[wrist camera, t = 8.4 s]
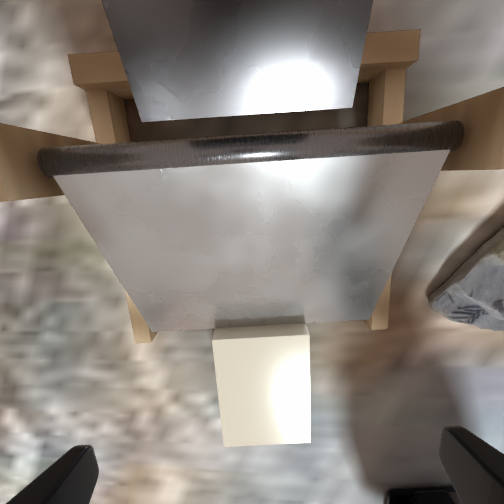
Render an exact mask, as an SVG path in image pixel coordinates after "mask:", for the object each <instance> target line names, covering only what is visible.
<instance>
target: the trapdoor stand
mask: <svg viewBox="0 0 504 504" xmlns="http://www.w3.org/2000/svg"><path fill="white" fill-rule="evenodd" d="M420 30H421V29H416V30H402V31H388V32H374V33H367V34H366V39H365V44H364V49H363V55H362V60H361V65H360V70H359V75H358V81H357V83H368V82H369V102H368V126H377V125H392V124H407V123H421V122H436V121H451V120H459V121H461V122H462V124H463V126H464V138H463V141H462V143H461V145H460V146H459V148H458V149H457V150H456V151H454V152H449V154H448V156H447V158H446V160H445V162H444V164H443V166H442V168H441V170H440V171H444V170H492V169H504V87H502V88H499V89H496V90H493V91H490V92H487V93H485V94H482V95H479V96H476V97H473V98H470V99H467V100H464V101H462V102H459V103H456V104H453V105H450V106H447V107H444V108H441V109H439V110H436V111H433V112H430V113H427V114H424V115H421V116H418V117H416V118H413V119H410V120H407V121H404V122H403V108H404V95H405V81H406V68H407V67H409V66H410V65H412V64H413V63H415V62H416V61H417V60H418V54H419V42H420ZM68 58H69V63H70V68H71V73H72V78H73V83H74V85H76V86H78V87H80V88H82V89H84V90H86V93H87V98H88V103H89V108H90V114H91V119H92V124H93V129H94V134H95V139H96V143H95V142H90V141H85V140H80V139H75V138H71V137H66V136H61V135H56V134H51V133H46V132H41V131H36V130H32V129H27V128H22V127H17V126H12V125H7V124H2V123H0V202H3V201H14V200H23V199H32V198H42V197H51V196H60V195H65V194H64V193H63V191H62V189H61V188H60V186H59V185H58V183H57V182H56V180H55V178H48V177H47V176H45V175H44V174H43V172H42V171H41V169H40V167H39V165H38V160H37V155H38V152H39V150H40V149H42V148H50V147H65V146H80V145H95V144H110V143H125V142H131V141H130V135H129V129H128V123H127V117H126V111H125V105H124V99H134V97H133V94H132V91H131V88H130V85H129V82H128V79H127V76H126V73H125V70H124V67H123V64H122V61H121V58H120V54H119V51H111V52H97V53H83V54H69V55H68ZM391 276H392V273H391V275H390V277H389V279H388V281H387V283H386V286H385V288H384V290H383V292H382V294H381V296H380V298H379V300H378V302H377V304H376V306H375V309H374V311H373V313H372V315H371V317H370V319H369V320H364V321H365V322H366V323H367V325H368V326H369V327H370V329H371V330H380V329H388V318H389V304H390V290H391ZM125 292H126V290H125ZM126 298H127V303H128V308H129V313H130V318H131V323H132V328H133V333H134V338H135V343H151V342H152V340H153V339H154V337H155V335H156V334H157V332H152V331H151V330H150V328H149V326H148V325H147V323H146V322H145V320H144V319H143V317H142V315H141V314H140V312H139V311H138V309H137V308H136V306H135V304H134V303H133V301H132V300H131V298H130V296H129V295H128V293H127V292H126Z"/></svg>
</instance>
